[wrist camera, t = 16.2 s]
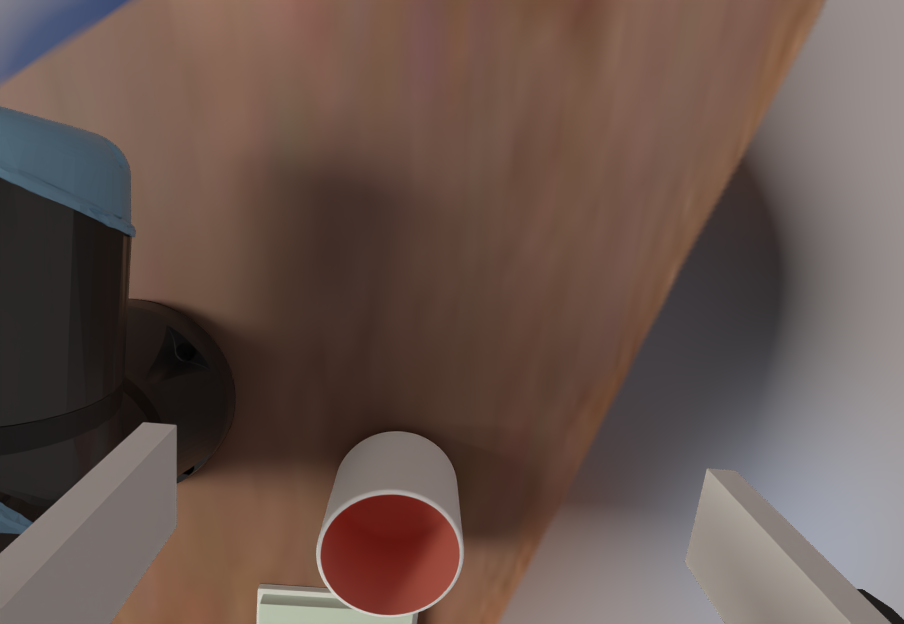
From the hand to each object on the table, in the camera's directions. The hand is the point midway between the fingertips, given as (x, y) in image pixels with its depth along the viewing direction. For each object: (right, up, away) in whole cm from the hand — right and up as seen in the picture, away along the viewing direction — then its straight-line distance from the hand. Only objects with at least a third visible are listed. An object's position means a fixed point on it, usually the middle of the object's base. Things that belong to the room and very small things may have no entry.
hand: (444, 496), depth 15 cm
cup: (-4, -10, +35) cm, 37 cm away
